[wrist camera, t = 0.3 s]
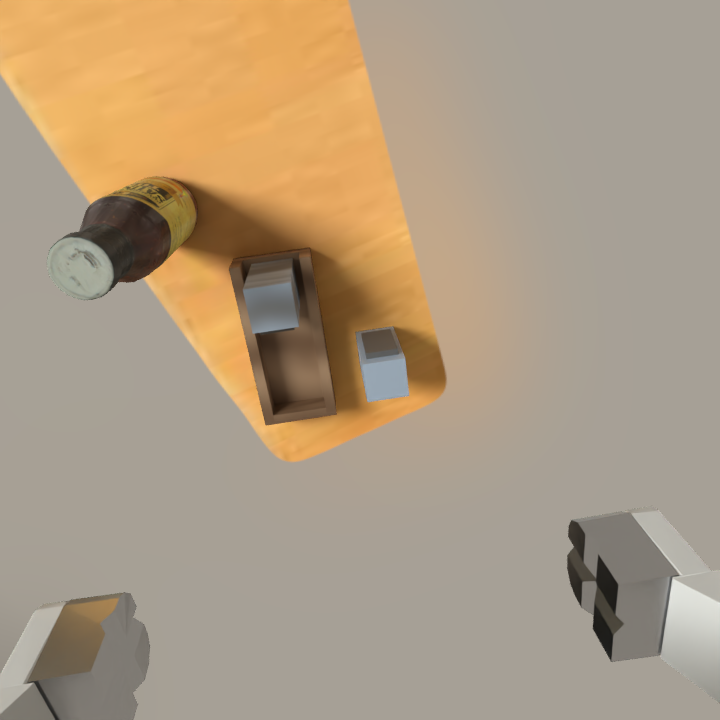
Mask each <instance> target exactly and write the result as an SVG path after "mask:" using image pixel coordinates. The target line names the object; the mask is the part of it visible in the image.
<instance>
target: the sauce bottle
mask: <svg viewBox="0 0 720 720" xmlns="http://www.w3.org/2000/svg"><path fill="white" fill-rule="evenodd" d="M196 221H197V204H196V201H195V199H194V197H193V195H192V194H191V192H190V191H189V190H188V189H187V188H186V187H185V186H184V185H183V184H182V183H180V182H178V181H176V180H173V179H170V178H166V177H148V178H144V179H142V180H140V181H137V182H135V183H133V184H131V185H128V186H126V187H124V188H122V189H120V190H117V191H115V192H113V193H111V194H109V195H107V196H104V197H102V198H100V199H98V200H96V201H95V202H93V203H92V204H91V205H90V206H89V207H88V209H87V210H86V213H85V216H84V219H83V222H82V225H81V228H80V231H79V232H74V233H70V234H68V235H66V236H64V237H63V238H62V239H60V240H59V241H57V242H56V243H55V244H54V245H53V246H52V247H51V248H50V251H49V254H48V258H47V268H48V273H49V275H50V277H51V279H52V281H53V282H54V284H55V285H56V286H58V288H59V289H60V290H61V291H63V292H65V293H66V294H67V295H69V296H72V297H74V298H77V299H82V300H92V299H96V298H99V297H102V296H104V295H105V294H107V293H108V292H109V291H111V289H112V288H114V286H115V285H116V284H117V283H118V282H135V281H137V280H139V279H141V278H143V277H146V276H147V275H149V274H150V273H151V272H153V271H154V270H155V269H156V268H158V267H159V266H160V265H162V264H163V263H164V262H165V261H166V260H167V259H168V258H169V257H170V256H171V255H172V254H173V253H174V252H175V251H176V250H177V249H178V248H179V247H180V246H181V245H182V244H183V242H184V241H185V240H187V238H188V237H189V236H190V235H191V233H192V231H193V229H194V228H195V225H196Z"/></svg>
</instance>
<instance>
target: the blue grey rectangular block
mask: <svg viewBox="0 0 720 720" xmlns="http://www.w3.org/2000/svg"><path fill="white" fill-rule="evenodd" d="M356 339H357V346H358V353H359V361H360V367H361V372H362V377H363V382H364V387H365V392H366V397H367V402H372V401H379V400H385V399H392V398H398V397H405V396H409V390H408V380H407V370H406V361H405V356H404V354H403V351H402V348H401V346H400V343H399V340H398V338H397V335H396V333H395V330H394V327H393V326H392V327H385V328H379V329H372V330H365V331H359V332H356Z"/></svg>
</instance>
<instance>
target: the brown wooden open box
mask: <svg viewBox="0 0 720 720" xmlns="http://www.w3.org/2000/svg"><path fill="white" fill-rule="evenodd" d="M229 271H230V275H231V280H232V284H233V288H234V292H235V297H236V301H237V305H238V309H239V314H240V318H241V322H242V326H243V331H244V335H245V339H246V344H247V348H248V352H249V356H250V361H251V365H252V369H253V373H254V378H255V382H256V386H257V390H258V395H259V399H260V403H261V408H262V412H263V416H264V420H265V425H272V424H278V423H285V422H291V421H297V420H304V419H310V418H317V417H323V416H330V415H336V414H337V413H336V402H335V395H334V389H333V383H332V377H331V371H330V365H329V359H328V353H327V347H326V341H325V335H324V329H323V323H322V317H321V311H320V305H319V299H318V293H317V287H316V281H315V275H314V269H313V263H312V257H311V251H310V248H305V249H298V250H291V251H284V252H277V253H271V254H264V255H257V256H250V257H243V258H236V259H233V261H232V263H231V265H230V267H229Z"/></svg>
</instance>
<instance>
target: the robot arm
mask: <svg viewBox="0 0 720 720" xmlns="http://www.w3.org/2000/svg"><path fill="white" fill-rule="evenodd" d="M568 537H569V539H570V541H571V542H572V544H573V546H574V547H573V549H572V550H571V551H570V552H569V554H568V555H567V569H568V574H569V579H570V584H571V587H572V589H573V592H574V594H575V597H576V598H577V600H578V602H579V604H580V606H581V608H583V609H584V610H586V611H587V612H589V613H591V614H592V615H594V616H593V630H594V632H595V633H596V635H597V637H598V639H599V641H600V643H601V644H602V646H603V648H604V650H605V651H606V653H607V655H608V657H609V659H610V661H611V662H615V661H622V660H630V659H637V658H644V657H651V656H658V655H661V659H662V660H664V661H665V662H666V663H668V664H669V665H670V666H672V667H673V668H674V669H676V670H677V671H678V672H680V673H681V674H682V675H683V676H685V677H686V678H687V679H689V680H690V681H691V682H693V683H694V684H695V685H697V686H698V687H699V688H701V689H702V690H703V691H704V692H706V693H707V694H708V695H710V696H711V697H712V698H714V699H715V700H716V701H718V702H719V703H720V570H715V571H712V570H711V569H710V568H709V567H708V566H707V565H706V564H705V562H704V561H703V560H702V559H701V558H700V557H699V556H698V554H697V553H696V552H695V551H694V550H693V549H692V548H691V546H689V544H688V543H687V542H686V541H685V540H684V539H683V537H682V536H681V535H680V534H679V533H678V532H677V531H676V530H675V529H674V527H673V526H672V525H671V524H670V523H669V522H668V521H667V519H666V518H665V517H664V516H663V515H662V514H661V513H660V512H659V511H658V509H656V508H654V507H652V506H649V507H643V508H637V509H632V510H626V511H624V512H622V511H621V512H616V513H610V514H604V515H598V516H592V517H587V518H581V519H574V520H571V522H570V525H569V530H568ZM135 610H136V604H135V602H134V600H133V598H132V596H131V594H130V593H125V592H124V593H117V594H109V595H102V596H94V597H87V598H80V599H73V600H70V601H62V602H55V603H47V604H43V605H41V606H40V607H39V608H38V609H36V611H35V612H34V614H33V615H32V617H31V619H30V621H29V622H28V624H27V626H26V628H25V630H24V632H23V634H22V636H21V638H20V639H19V641H18V643H17V645H16V647H15V648H14V650H13V652H12V654H11V656H10V658H9V659H8V661H7V663H6V665H5V667H4V669H3V670H2V672H1V674H0V720H133V719H134V716H135V712H136V709H137V705H138V704H137V702H136V699H135V697H134V695H133V692H134V691H135V690H136V689H137V688H138V687H139V685H140V684H141V683H142V682H143V681H144V680H145V677H146V673H147V669H148V665H149V652H150V644H149V638H148V633H147V631H146V628H145V626H144V624H143V623H141V622H139V621H138V620H136V619H135V618H133V616H134V613H135Z"/></svg>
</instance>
